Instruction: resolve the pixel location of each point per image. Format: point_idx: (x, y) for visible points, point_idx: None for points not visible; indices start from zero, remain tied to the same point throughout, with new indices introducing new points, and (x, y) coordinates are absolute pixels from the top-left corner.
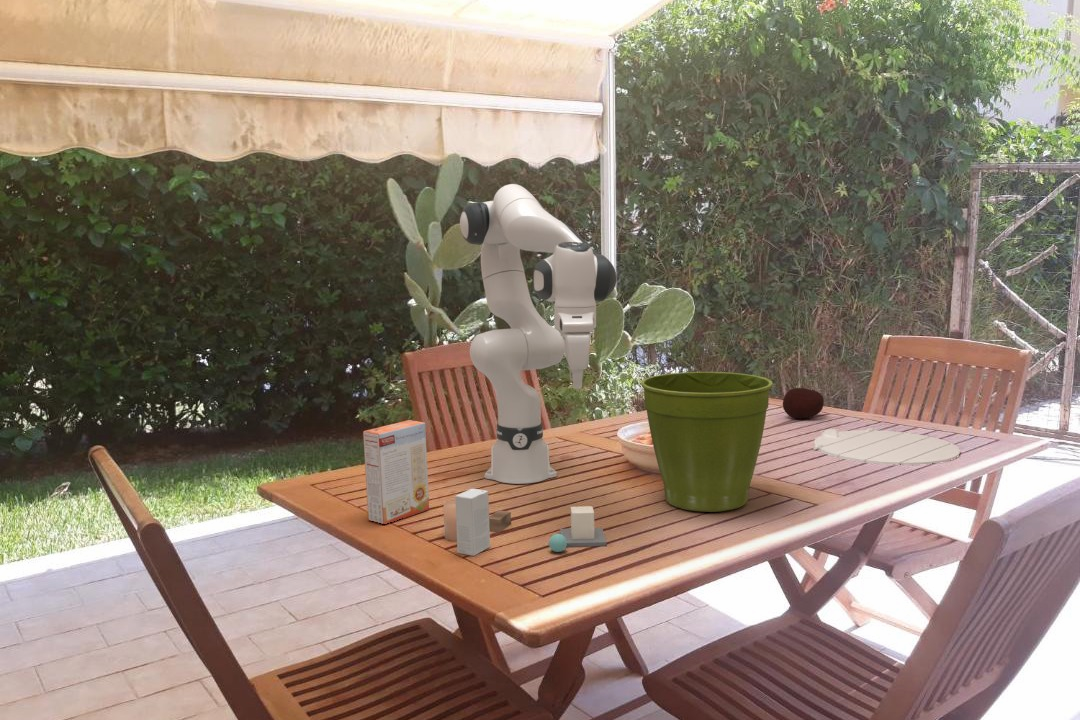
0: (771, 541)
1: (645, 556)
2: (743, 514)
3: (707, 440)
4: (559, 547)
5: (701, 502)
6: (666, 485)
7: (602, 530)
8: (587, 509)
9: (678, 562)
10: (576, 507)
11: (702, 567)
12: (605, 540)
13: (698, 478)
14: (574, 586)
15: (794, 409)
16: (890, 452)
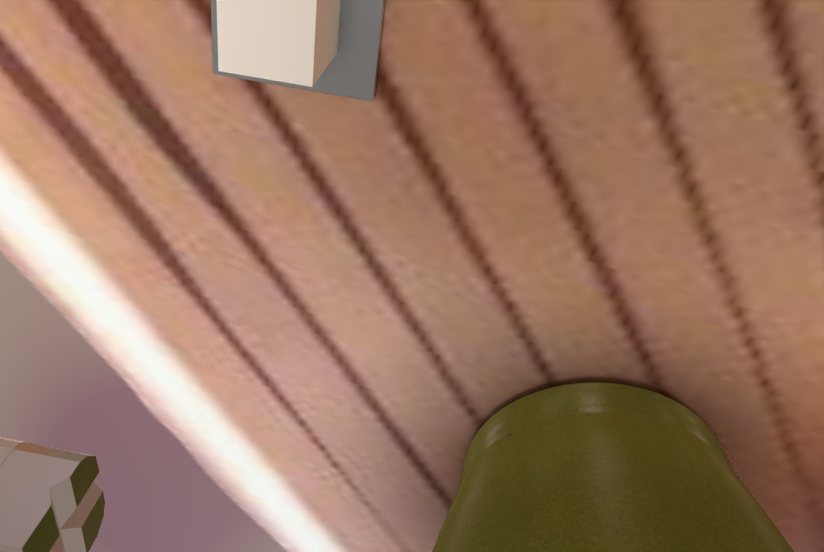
0: (232, 467)
1: (120, 163)
2: (446, 497)
3: None
4: None
5: (476, 447)
6: (598, 419)
7: (342, 94)
8: (267, 54)
9: (76, 232)
10: (302, 11)
11: (44, 274)
12: (231, 75)
13: (458, 504)
14: None
15: None
16: None
